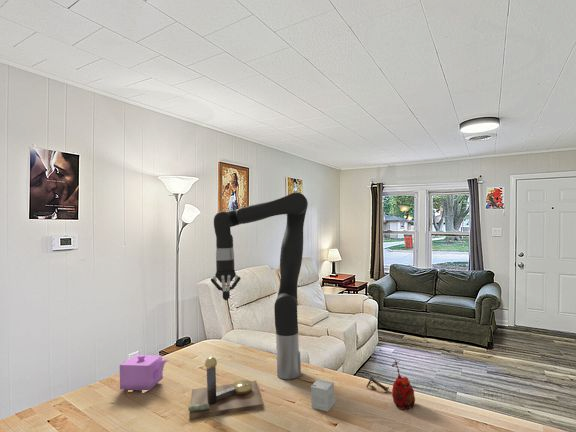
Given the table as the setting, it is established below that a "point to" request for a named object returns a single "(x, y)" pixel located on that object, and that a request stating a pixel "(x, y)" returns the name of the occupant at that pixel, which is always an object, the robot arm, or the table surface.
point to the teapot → (141, 372)
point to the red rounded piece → (403, 392)
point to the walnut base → (223, 402)
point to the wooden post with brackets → (376, 384)
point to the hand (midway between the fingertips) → (226, 299)
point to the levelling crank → (237, 388)
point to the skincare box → (322, 395)
